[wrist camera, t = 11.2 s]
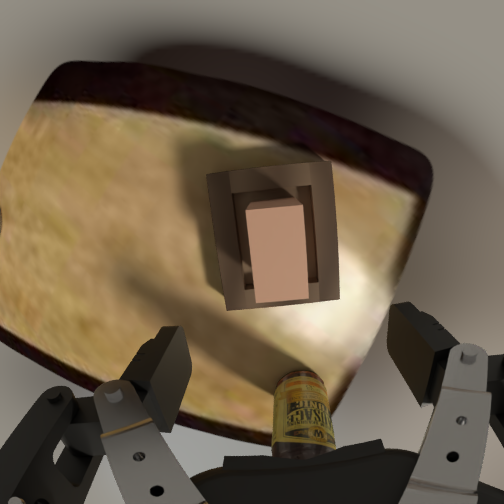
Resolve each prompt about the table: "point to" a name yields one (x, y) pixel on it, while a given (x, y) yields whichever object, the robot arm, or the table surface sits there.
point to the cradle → (236, 232)
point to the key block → (278, 249)
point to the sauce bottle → (301, 417)
